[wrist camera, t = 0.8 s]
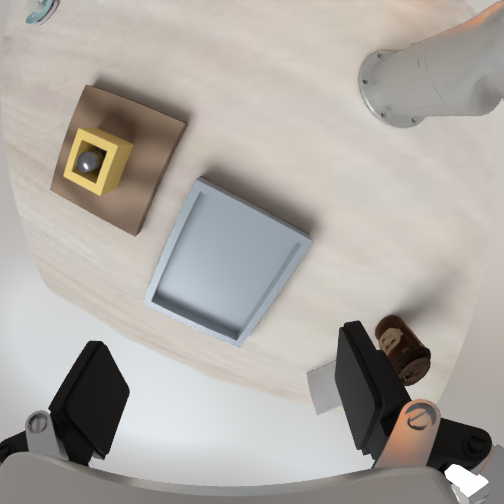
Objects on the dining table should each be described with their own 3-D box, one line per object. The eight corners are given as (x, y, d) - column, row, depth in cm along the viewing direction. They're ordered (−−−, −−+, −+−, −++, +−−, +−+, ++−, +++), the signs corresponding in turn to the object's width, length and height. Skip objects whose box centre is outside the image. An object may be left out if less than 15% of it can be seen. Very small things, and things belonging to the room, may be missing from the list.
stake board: (92, 86, 31) (85, 84, 30) (188, 124, 35) (184, 123, 33) (56, 187, 38) (50, 189, 36) (139, 232, 41) (135, 236, 39)
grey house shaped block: (306, 372, 53) (313, 410, 43) (336, 359, 51) (348, 396, 42) (312, 382, 54) (320, 418, 45) (341, 369, 53) (353, 405, 43)
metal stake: (102, 146, 34) (80, 149, 28) (115, 152, 34) (95, 156, 29) (96, 162, 35) (74, 168, 29) (109, 169, 35) (88, 175, 29)
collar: (97, 128, 32) (78, 128, 28) (133, 144, 34) (118, 145, 29) (81, 170, 35) (63, 176, 30) (116, 188, 36) (100, 195, 32)
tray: (199, 176, 38) (195, 179, 35) (308, 234, 41) (312, 241, 38) (148, 294, 45) (142, 303, 42) (240, 336, 49) (240, 347, 46)
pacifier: (64, 3, 24) (54, -7, 22) (46, -6, 18) (37, -16, 16) (38, 32, 25) (30, 20, 23) (19, 26, 20) (11, 15, 18)
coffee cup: (363, 345, 50) (384, 393, 38) (374, 311, 47) (401, 358, 35) (398, 341, 50) (423, 385, 38) (411, 309, 47) (442, 351, 35)
